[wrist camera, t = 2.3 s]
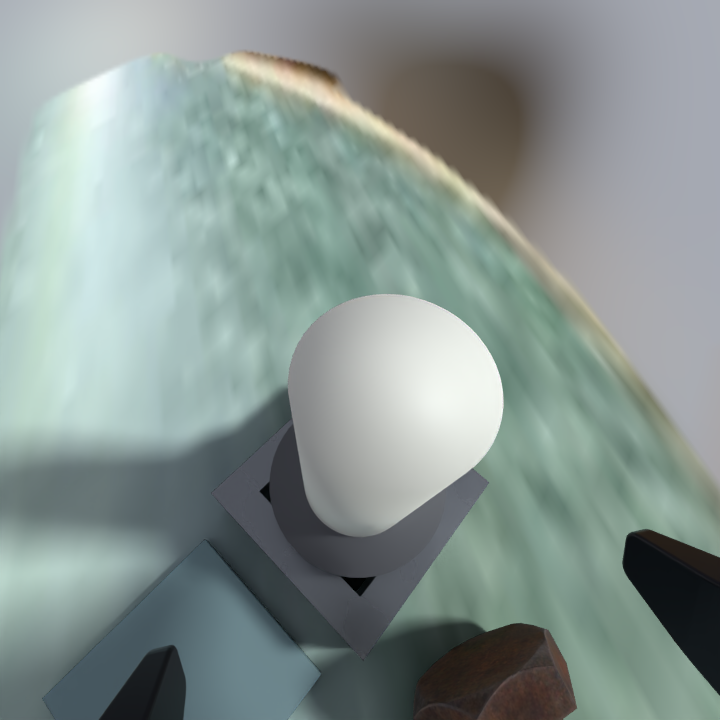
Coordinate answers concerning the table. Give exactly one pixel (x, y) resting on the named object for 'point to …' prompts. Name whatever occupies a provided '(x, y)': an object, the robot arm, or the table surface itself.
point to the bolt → (498, 679)
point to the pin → (380, 431)
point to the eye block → (326, 590)
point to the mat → (197, 650)
